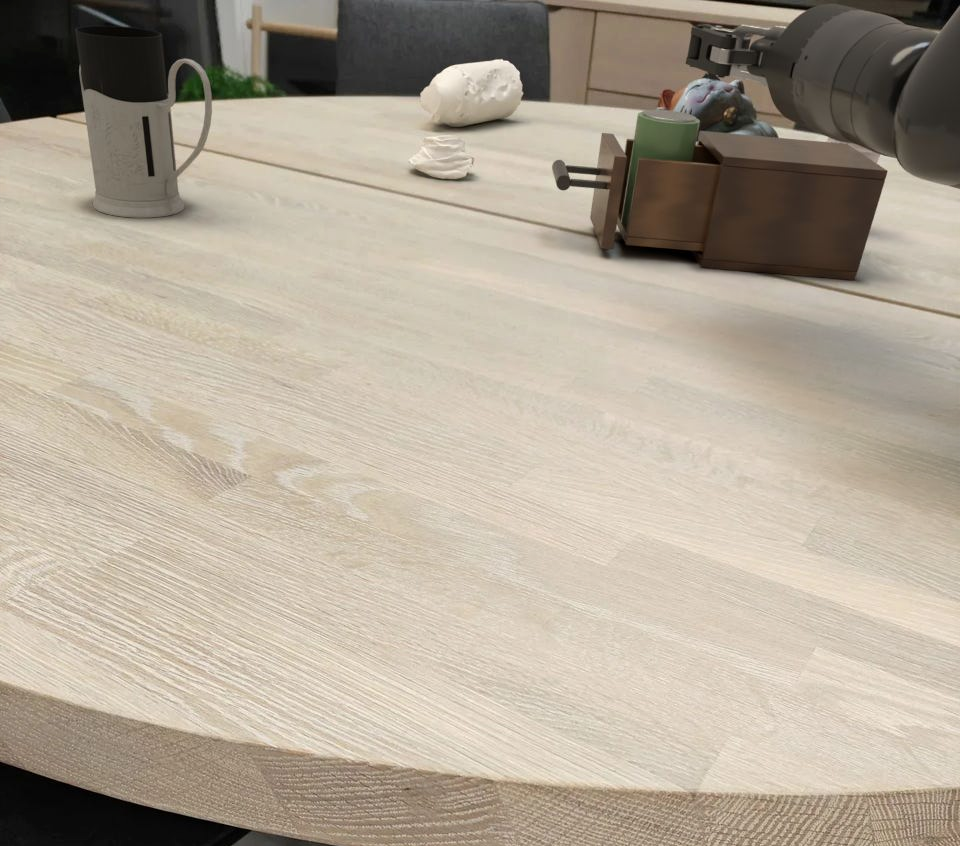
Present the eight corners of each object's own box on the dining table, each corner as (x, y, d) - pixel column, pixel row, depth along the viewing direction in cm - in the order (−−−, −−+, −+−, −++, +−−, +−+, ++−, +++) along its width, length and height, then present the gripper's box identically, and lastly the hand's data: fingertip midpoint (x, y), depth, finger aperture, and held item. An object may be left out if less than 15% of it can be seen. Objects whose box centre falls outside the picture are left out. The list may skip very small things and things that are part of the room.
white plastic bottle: (406, 127, 144) (407, 64, 139) (477, 113, 157) (481, 55, 152) (451, 136, 141) (454, 72, 136) (520, 122, 154) (525, 63, 149)
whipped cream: (408, 184, 119) (406, 141, 116) (409, 166, 124) (408, 124, 121) (474, 185, 120) (474, 141, 116) (473, 167, 125) (473, 124, 121)
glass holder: (135, 190, 104) (115, 22, 95) (246, 216, 100) (236, 43, 91) (73, 205, 98) (45, 27, 89) (189, 234, 93) (173, 50, 84)
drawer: (551, 244, 97) (562, 151, 92) (544, 214, 106) (554, 128, 101) (746, 260, 98) (767, 169, 93) (722, 229, 107) (741, 145, 102)
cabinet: (700, 267, 98) (724, 156, 92) (679, 232, 108) (699, 130, 102) (855, 280, 99) (888, 170, 93) (819, 244, 109) (847, 143, 103)
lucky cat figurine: (693, 194, 123) (665, 73, 119) (656, 210, 135) (628, 101, 130) (800, 157, 125) (776, 38, 121) (754, 176, 137) (730, 68, 132)
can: (674, 220, 104) (694, 112, 98) (683, 236, 99) (705, 123, 93) (617, 215, 104) (634, 106, 98) (624, 231, 99) (642, 117, 93)
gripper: (957, 17, 67) (840, -7, 80) (765, 2, 64) (674, -20, 77) (919, 139, 72) (814, 98, 84) (738, 131, 69) (656, 90, 81)
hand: (748, 42), depth 80 cm, fingers open, 8 cm apart
